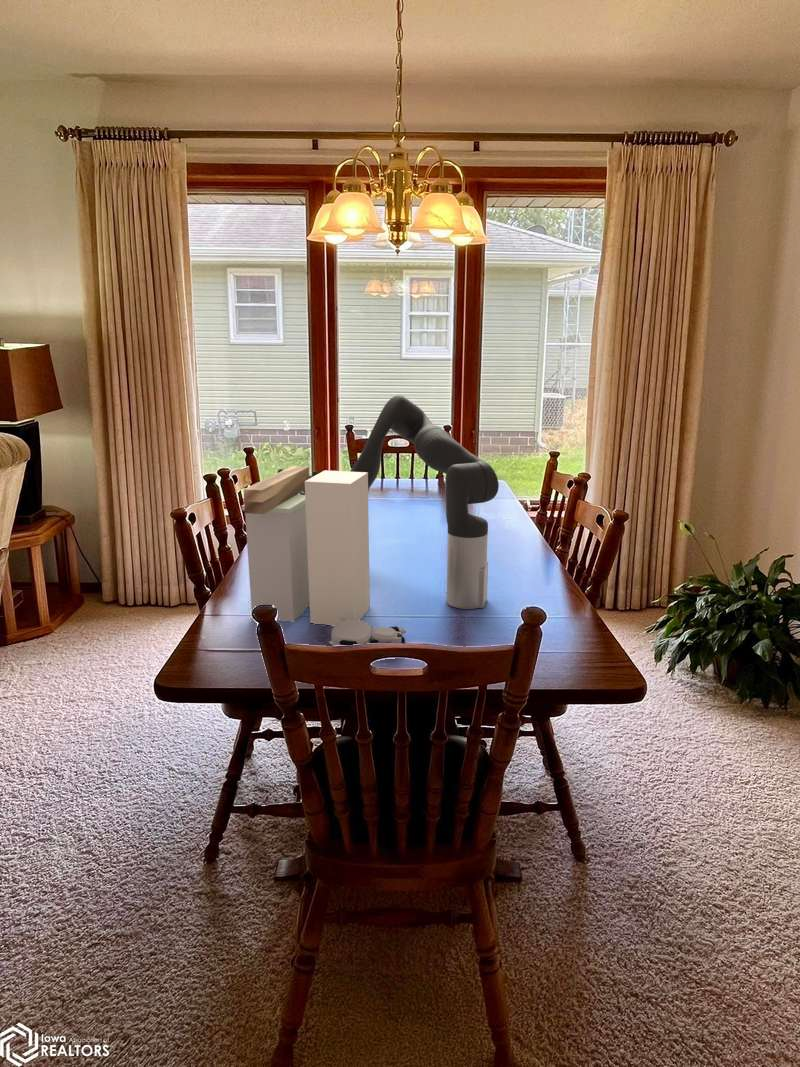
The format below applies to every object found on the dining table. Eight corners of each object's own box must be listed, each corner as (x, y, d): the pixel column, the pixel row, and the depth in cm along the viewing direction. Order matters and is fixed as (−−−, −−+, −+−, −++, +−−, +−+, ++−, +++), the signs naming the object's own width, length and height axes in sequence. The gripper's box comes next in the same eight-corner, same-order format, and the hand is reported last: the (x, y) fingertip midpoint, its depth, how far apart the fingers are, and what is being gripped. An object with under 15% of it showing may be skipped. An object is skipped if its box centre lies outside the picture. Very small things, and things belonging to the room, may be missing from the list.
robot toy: (406, 640, 151) (336, 633, 152) (407, 621, 150) (337, 614, 151) (401, 667, 139) (325, 659, 140) (403, 646, 138) (326, 638, 139)
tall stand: (369, 608, 166) (367, 472, 157) (353, 628, 155) (350, 483, 146) (329, 604, 168) (324, 470, 159) (310, 623, 157) (304, 481, 148)
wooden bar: (309, 487, 170) (308, 466, 169) (262, 514, 146) (261, 490, 145) (294, 486, 171) (293, 465, 170) (244, 513, 147) (243, 489, 146)
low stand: (316, 601, 170) (312, 495, 162) (294, 623, 158) (289, 508, 150) (273, 597, 172) (267, 492, 165) (249, 618, 160) (241, 505, 153)
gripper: (295, 478, 185) (271, 457, 170) (347, 481, 181) (327, 459, 166) (290, 506, 183) (265, 487, 168) (343, 509, 180) (323, 490, 164)
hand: (296, 473), depth 167 cm, fingers open, 8 cm apart
